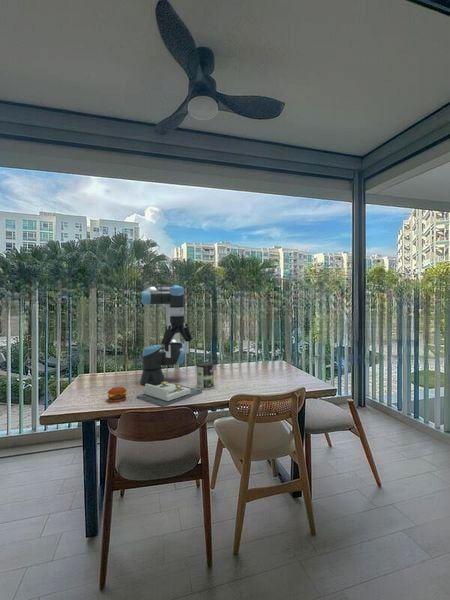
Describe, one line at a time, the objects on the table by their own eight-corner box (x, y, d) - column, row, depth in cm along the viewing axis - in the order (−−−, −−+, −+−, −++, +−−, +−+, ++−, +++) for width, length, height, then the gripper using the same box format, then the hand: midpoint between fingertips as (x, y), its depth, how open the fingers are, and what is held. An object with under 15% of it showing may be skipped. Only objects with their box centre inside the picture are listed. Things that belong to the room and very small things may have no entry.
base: (136, 398, 164) (136, 386, 164) (176, 385, 186) (175, 375, 186) (162, 406, 150) (162, 394, 150) (202, 392, 172) (202, 381, 172)
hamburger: (110, 404, 155) (109, 391, 155) (106, 399, 163) (106, 387, 163) (128, 400, 160) (128, 388, 160) (124, 396, 168) (124, 384, 168)
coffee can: (215, 385, 187) (215, 362, 186) (211, 390, 176) (211, 365, 176) (199, 384, 189) (199, 361, 188) (194, 389, 179) (194, 365, 178)
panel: (144, 393, 167) (143, 383, 167) (166, 386, 179) (166, 377, 179) (167, 401, 154) (167, 390, 154) (190, 393, 166) (190, 383, 166)
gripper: (164, 317, 150) (164, 360, 150) (197, 314, 170) (198, 352, 170) (154, 316, 154) (154, 358, 154) (188, 314, 174) (188, 350, 174)
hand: (177, 355), depth 162 cm, fingers open, 13 cm apart
